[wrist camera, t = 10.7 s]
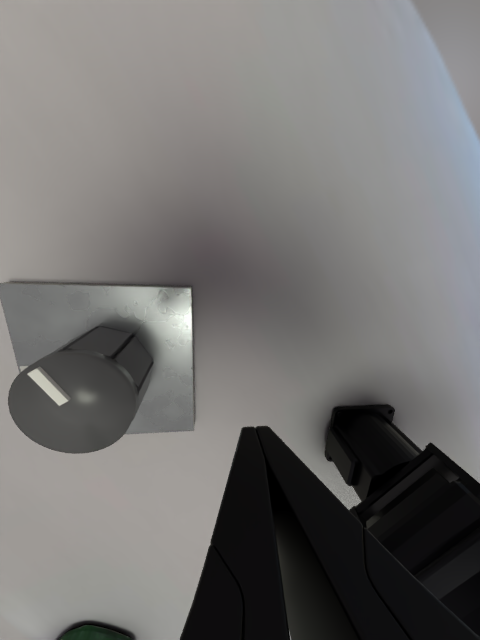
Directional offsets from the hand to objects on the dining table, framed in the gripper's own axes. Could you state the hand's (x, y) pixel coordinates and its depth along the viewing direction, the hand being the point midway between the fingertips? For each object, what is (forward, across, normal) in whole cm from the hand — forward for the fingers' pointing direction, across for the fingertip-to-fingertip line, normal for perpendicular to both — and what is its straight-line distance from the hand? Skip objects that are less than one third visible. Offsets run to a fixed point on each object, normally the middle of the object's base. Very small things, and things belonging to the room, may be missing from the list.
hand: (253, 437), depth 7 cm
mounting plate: (+12, +10, +4) cm, 16 cm away
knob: (+11, +9, +3) cm, 15 cm away
